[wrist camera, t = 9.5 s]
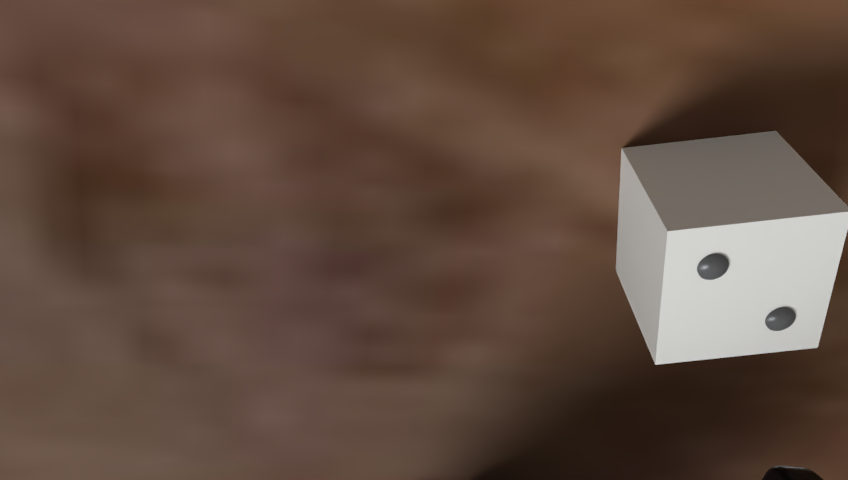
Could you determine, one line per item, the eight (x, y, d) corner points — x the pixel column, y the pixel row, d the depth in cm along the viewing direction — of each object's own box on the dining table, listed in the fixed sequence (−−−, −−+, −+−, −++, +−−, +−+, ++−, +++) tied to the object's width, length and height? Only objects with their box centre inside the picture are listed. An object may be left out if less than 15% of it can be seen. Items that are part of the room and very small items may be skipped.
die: (753, 254, 22) (818, 349, 19) (615, 268, 22) (655, 365, 19) (774, 129, 20) (853, 212, 17) (620, 146, 20) (668, 232, 17)
